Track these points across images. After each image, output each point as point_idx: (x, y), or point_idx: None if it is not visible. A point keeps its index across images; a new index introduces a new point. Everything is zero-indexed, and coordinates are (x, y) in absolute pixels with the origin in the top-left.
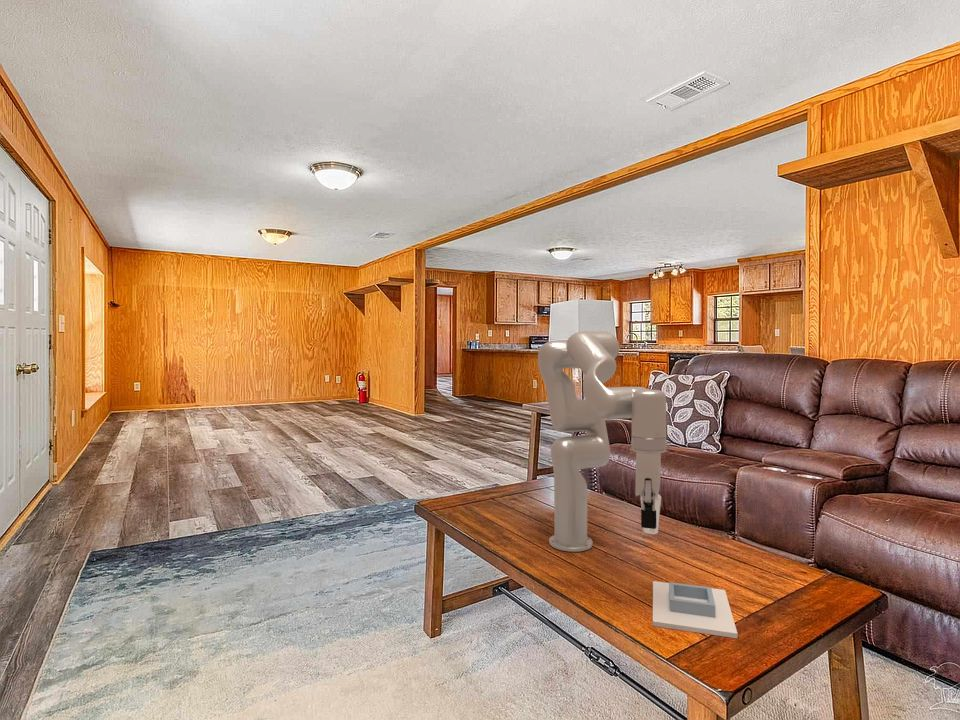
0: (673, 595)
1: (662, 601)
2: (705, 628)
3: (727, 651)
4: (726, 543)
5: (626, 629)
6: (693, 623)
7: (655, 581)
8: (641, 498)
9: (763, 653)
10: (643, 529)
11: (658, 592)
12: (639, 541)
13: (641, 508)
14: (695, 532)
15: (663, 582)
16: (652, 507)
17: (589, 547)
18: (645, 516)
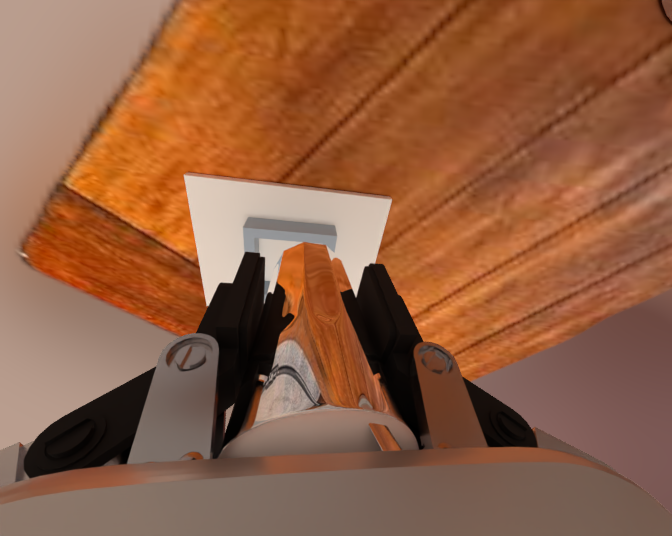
0: (268, 237)
1: (290, 207)
2: (201, 267)
3: (159, 282)
4: (553, 336)
5: (139, 103)
6: (212, 251)
7: (390, 204)
8: (275, 413)
9: (180, 320)
10: (299, 248)
11: (333, 204)
12: (638, 192)
13: (309, 319)
14: (622, 303)
15: (385, 221)
16: (229, 405)
17: (670, 11)
18: (203, 317)
